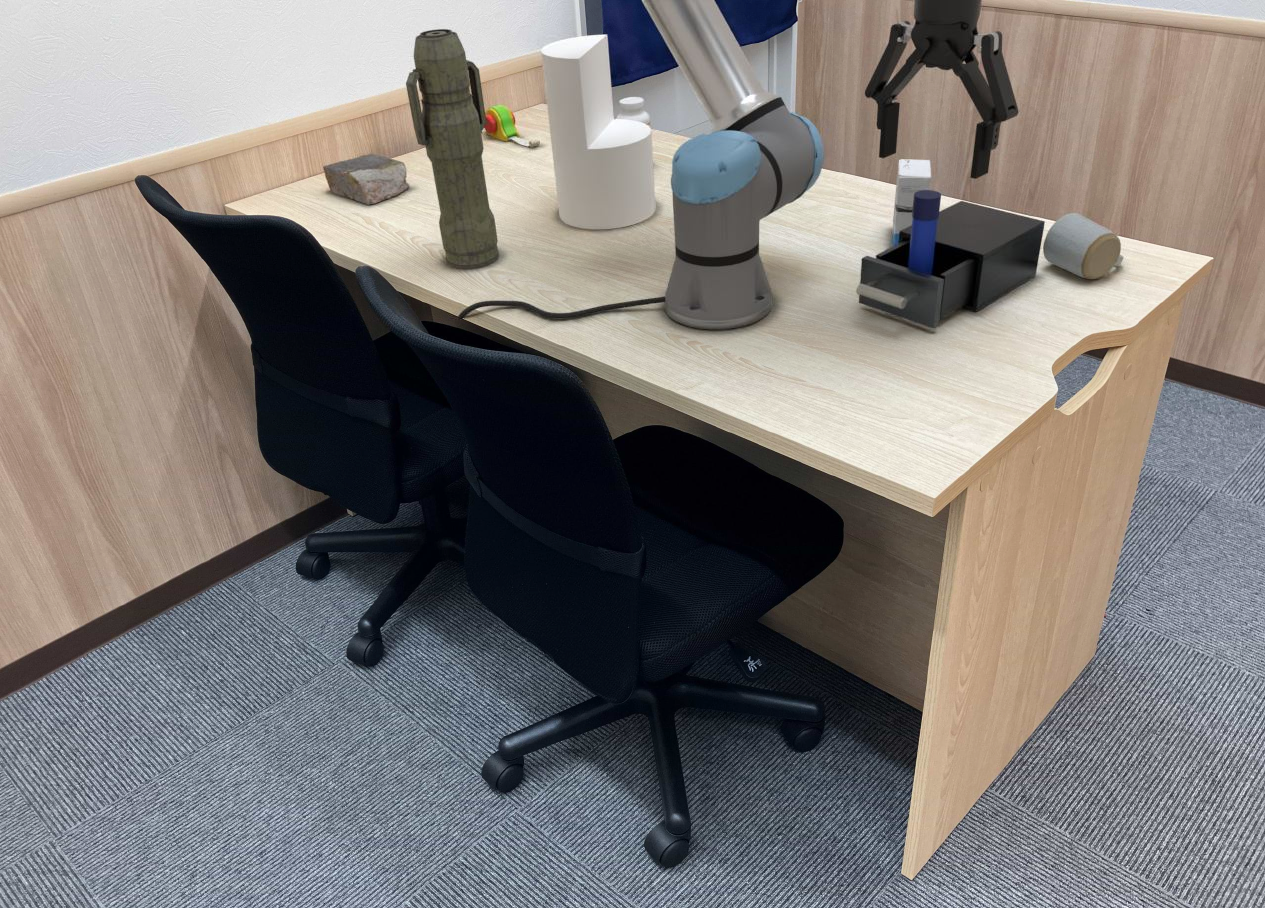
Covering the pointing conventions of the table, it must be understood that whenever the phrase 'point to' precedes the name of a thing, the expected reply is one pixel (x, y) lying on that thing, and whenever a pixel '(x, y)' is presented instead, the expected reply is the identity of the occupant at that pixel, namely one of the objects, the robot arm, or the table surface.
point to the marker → (924, 230)
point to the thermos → (454, 145)
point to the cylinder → (594, 140)
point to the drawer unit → (990, 247)
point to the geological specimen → (367, 178)
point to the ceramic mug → (1082, 247)
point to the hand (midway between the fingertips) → (931, 165)
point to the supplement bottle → (633, 110)
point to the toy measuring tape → (504, 126)
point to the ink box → (908, 191)
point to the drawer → (917, 284)
